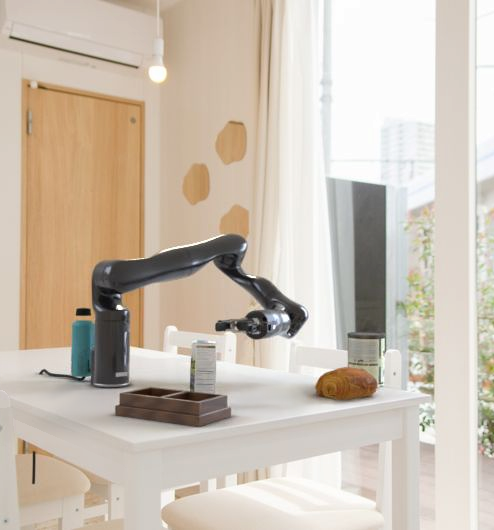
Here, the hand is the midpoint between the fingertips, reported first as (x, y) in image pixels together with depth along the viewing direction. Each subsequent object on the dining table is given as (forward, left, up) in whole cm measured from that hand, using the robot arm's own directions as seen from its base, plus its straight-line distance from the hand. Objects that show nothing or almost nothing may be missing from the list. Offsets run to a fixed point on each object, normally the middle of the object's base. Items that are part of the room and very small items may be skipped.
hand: (231, 327), depth 168 cm
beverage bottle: (-48, +1, -17) cm, 51 cm away
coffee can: (+20, +39, -17) cm, 47 cm away
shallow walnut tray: (+1, -25, -17) cm, 30 cm away
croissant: (+22, +19, -17) cm, 34 cm away
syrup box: (0, -12, -17) cm, 21 cm away
